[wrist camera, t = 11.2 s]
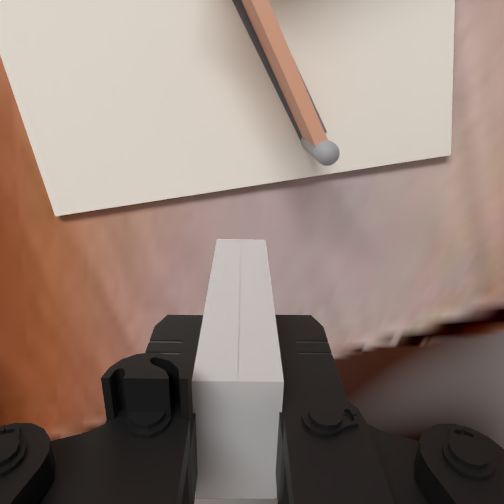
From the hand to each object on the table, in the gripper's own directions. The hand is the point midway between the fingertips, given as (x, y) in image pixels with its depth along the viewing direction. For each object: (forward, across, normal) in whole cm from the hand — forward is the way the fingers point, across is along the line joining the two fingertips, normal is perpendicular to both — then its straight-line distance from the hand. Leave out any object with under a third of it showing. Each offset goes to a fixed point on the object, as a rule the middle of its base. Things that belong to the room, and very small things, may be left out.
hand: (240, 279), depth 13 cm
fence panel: (+20, +2, +7) cm, 21 cm away
